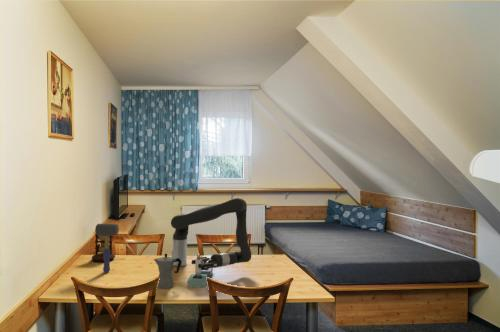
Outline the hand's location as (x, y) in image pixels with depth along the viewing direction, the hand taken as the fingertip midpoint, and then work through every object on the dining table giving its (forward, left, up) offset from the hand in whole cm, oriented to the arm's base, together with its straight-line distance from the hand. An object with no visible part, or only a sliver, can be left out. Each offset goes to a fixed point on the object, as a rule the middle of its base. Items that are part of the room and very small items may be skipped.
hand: (195, 264), depth 203 cm
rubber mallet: (-57, +15, -12) cm, 61 cm away
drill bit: (+2, +1, -11) cm, 12 cm away
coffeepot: (-14, -4, -12) cm, 19 cm away
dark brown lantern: (-71, +40, -12) cm, 83 cm away
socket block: (+3, +16, -11) cm, 20 cm away
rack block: (+2, +1, -11) cm, 12 cm away
